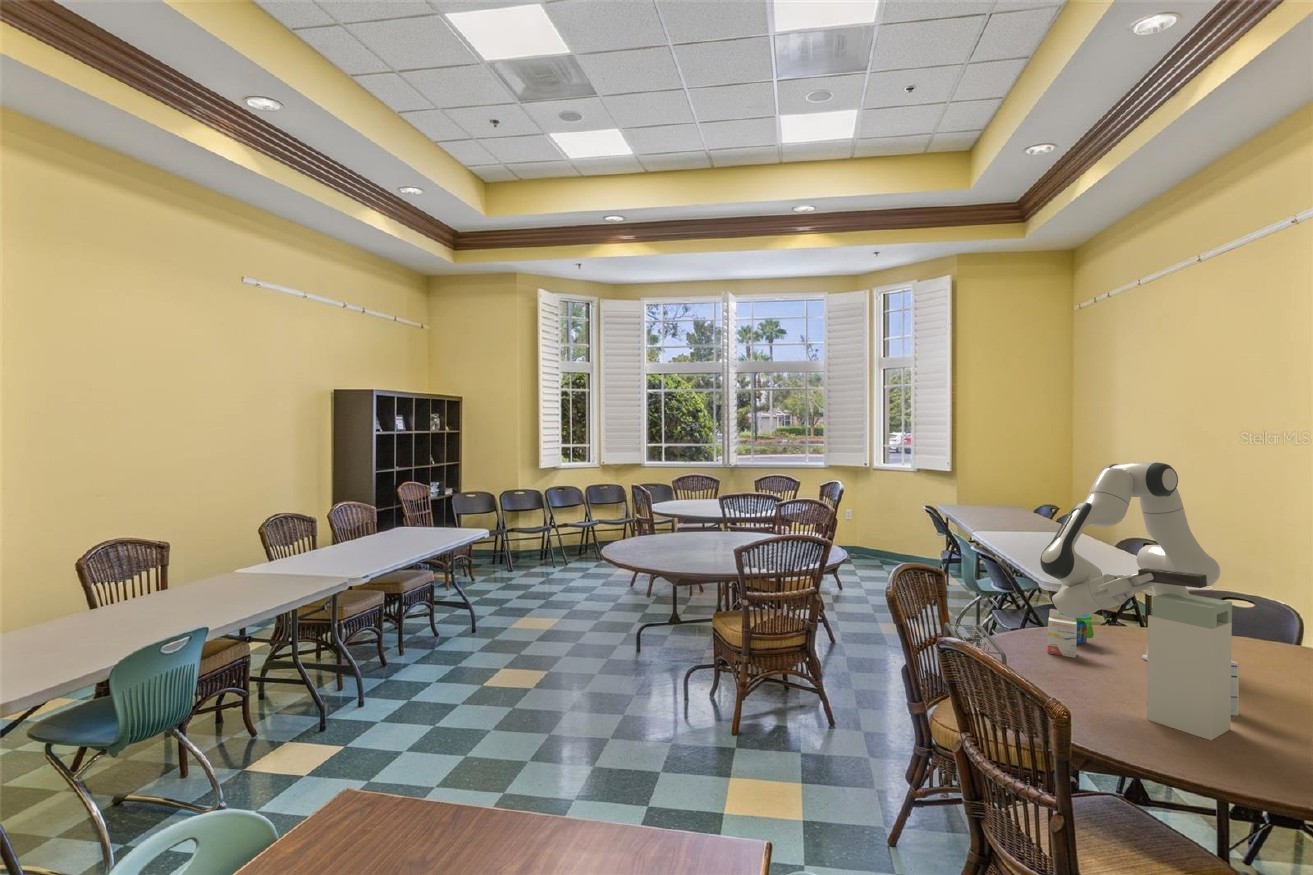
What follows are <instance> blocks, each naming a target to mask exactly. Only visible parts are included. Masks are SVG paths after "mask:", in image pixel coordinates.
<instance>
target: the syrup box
mask: <svg viewBox="0 0 1313 875" xmlns="http://www.w3.org/2000/svg"><path fill="white" fill-rule="evenodd" d="M1239 675H1240V673H1239V663H1238V662H1236V661H1235V660H1232V659H1231V716H1239V715H1240V711H1239V710H1240V709H1239V708H1240V707H1239V705H1240V704H1239V703H1240V702H1239V701H1240V700H1239V699H1240V698H1239V696H1240V694H1239V693H1240V692H1239V691H1240V689H1239V688H1240V686H1239V685H1240V683H1239V677H1240V676H1239Z"/></svg>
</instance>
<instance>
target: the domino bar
mask: <svg viewBox="0 0 1313 875" xmlns="http://www.w3.org/2000/svg"><path fill="white" fill-rule="evenodd" d="M1137 572H1138V573H1137V574H1138V576H1142V575H1145V574H1148V573H1153V574H1154V576H1155V577H1156V578H1155V579H1153V580H1150V581H1147V582H1153V583H1161V584H1170V585H1178V586H1186V588H1188V587H1189V588H1195V589H1202V588H1206V586H1207V577H1206V575H1204V574H1194V573H1185V572H1176V571H1166V570H1157V569H1147V568H1144V569H1140V568H1139V569H1137ZM1207 587H1208V586H1207Z"/></svg>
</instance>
